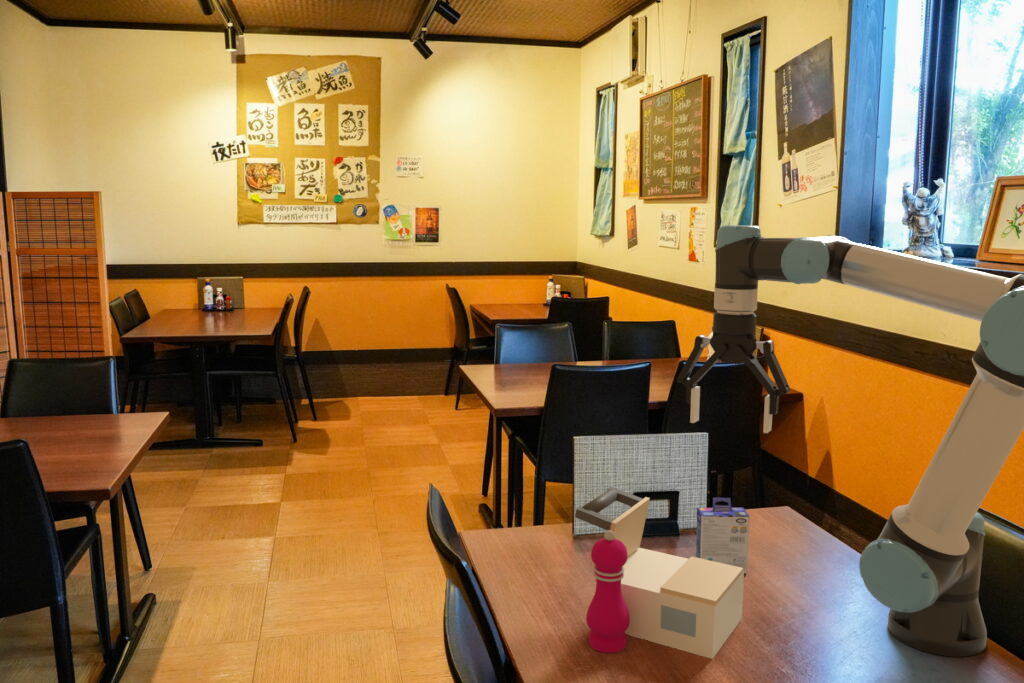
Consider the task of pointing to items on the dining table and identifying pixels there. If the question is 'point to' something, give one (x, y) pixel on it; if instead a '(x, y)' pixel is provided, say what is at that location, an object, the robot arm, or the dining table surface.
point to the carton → (682, 600)
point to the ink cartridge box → (723, 534)
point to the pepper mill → (608, 596)
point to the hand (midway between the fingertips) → (730, 426)
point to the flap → (626, 524)
